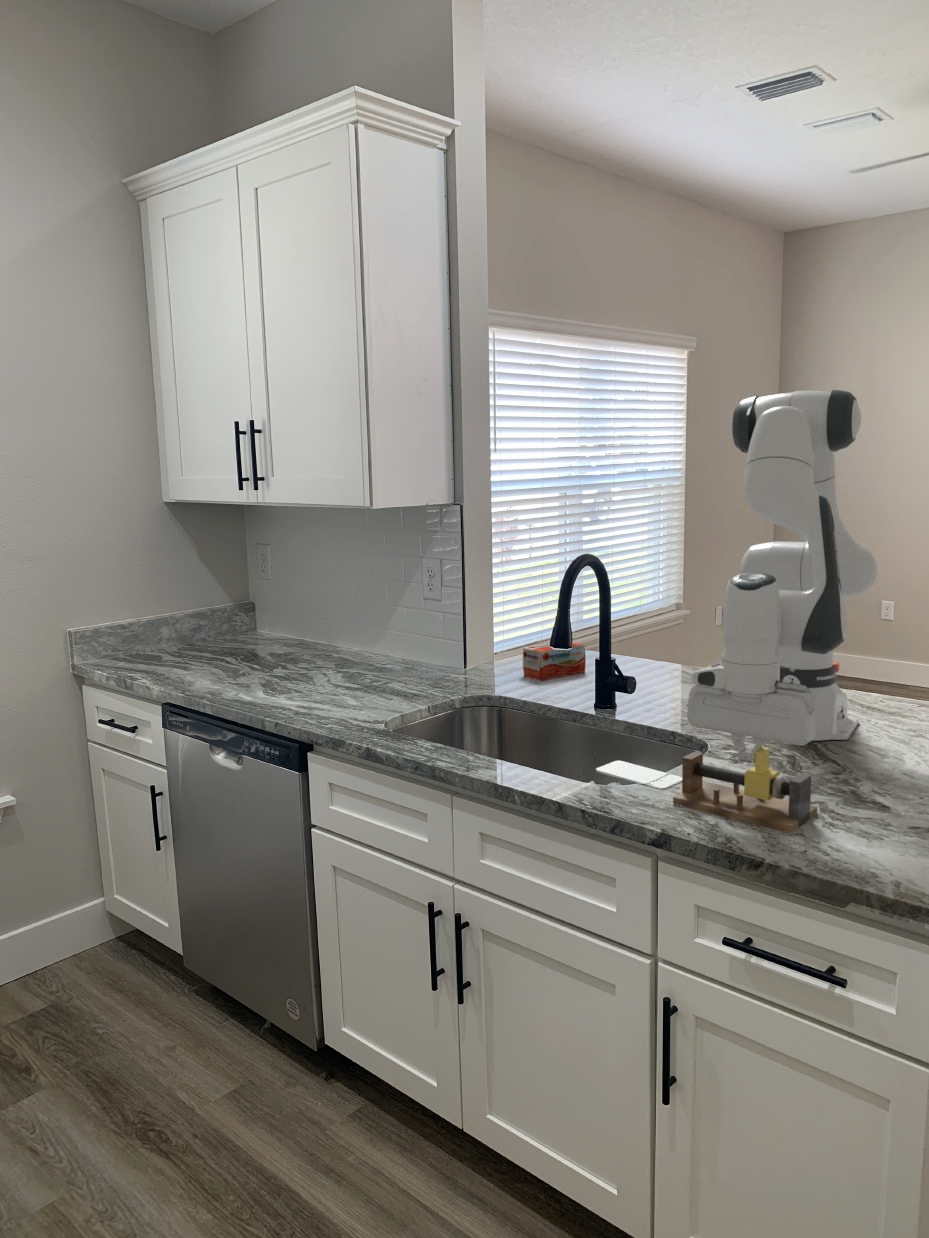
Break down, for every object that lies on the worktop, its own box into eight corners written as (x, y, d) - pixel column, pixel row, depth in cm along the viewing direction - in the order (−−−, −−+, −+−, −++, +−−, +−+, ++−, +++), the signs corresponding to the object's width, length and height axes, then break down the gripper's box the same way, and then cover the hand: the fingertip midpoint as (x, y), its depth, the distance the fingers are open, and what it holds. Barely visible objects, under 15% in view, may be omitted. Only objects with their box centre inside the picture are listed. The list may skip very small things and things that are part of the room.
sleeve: (744, 795, 150) (745, 750, 148) (754, 788, 152) (755, 744, 151) (768, 800, 147) (769, 755, 146) (778, 793, 150) (779, 749, 149)
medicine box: (567, 668, 258) (566, 639, 256) (586, 673, 251) (586, 644, 250) (522, 676, 250) (521, 647, 248) (540, 682, 243) (540, 651, 242)
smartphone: (662, 788, 162) (593, 769, 172) (662, 793, 162) (593, 773, 172) (686, 778, 167) (618, 759, 177) (686, 782, 167) (618, 763, 177)
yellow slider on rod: (672, 803, 155) (673, 762, 154) (702, 787, 162) (702, 747, 161) (790, 833, 142) (792, 787, 141) (816, 813, 149) (818, 770, 148)
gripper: (823, 682, 143) (820, 769, 146) (701, 665, 157) (700, 745, 159) (807, 690, 139) (803, 780, 141) (683, 672, 152) (682, 754, 155)
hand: (748, 761), depth 150 cm, fingers closed
